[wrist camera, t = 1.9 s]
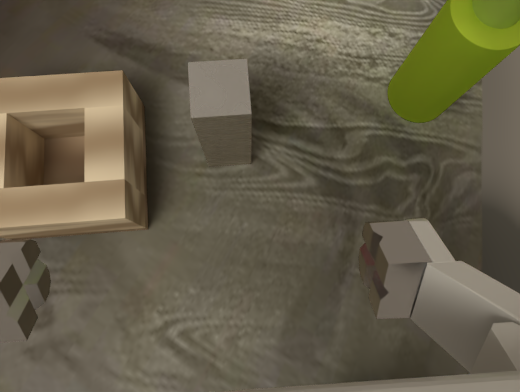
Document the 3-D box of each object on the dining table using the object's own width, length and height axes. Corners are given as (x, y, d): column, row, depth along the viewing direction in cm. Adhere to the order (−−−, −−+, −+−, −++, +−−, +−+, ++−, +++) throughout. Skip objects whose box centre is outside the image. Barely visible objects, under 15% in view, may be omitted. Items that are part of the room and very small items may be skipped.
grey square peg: (251, 163, 39) (251, 113, 27) (208, 166, 39) (190, 118, 27) (248, 124, 40) (246, 58, 28) (206, 126, 40) (187, 62, 28)
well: (148, 229, 37) (125, 218, 31) (13, 239, 37) (-40, 231, 30) (144, 106, 40) (122, 70, 33) (18, 114, 39) (-31, 80, 32)
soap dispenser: (422, 50, 42) (575, -153, 22) (457, 108, 40) (650, -51, 21) (372, 72, 41) (483, -116, 21) (405, 132, 40) (554, -10, 20)
